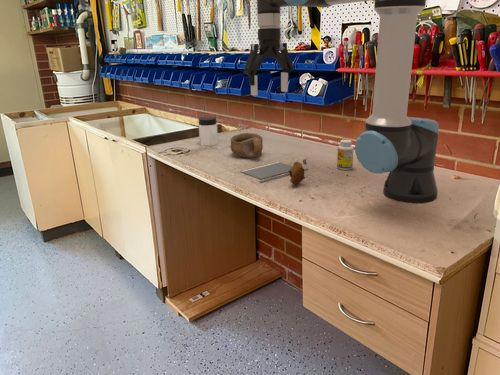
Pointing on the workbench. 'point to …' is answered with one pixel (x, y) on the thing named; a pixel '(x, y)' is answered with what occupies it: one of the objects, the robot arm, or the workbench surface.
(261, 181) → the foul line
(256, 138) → the bowl
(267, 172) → the mat
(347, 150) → the supplement bottle
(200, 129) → the jar
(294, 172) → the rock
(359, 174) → the workbench surface
